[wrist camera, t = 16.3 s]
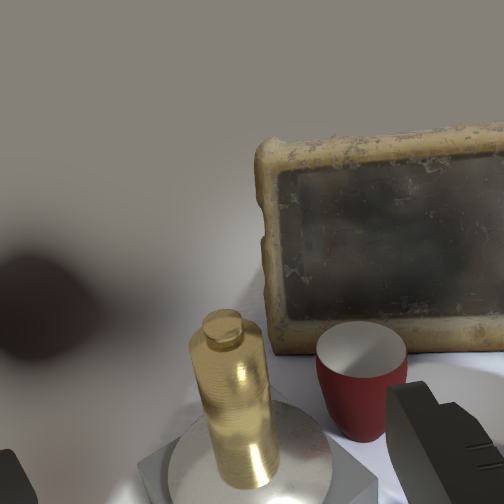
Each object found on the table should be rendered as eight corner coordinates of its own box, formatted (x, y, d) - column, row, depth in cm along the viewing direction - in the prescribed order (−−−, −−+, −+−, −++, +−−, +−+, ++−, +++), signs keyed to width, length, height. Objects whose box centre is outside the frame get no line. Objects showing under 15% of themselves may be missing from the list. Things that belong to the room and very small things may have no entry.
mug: (329, 377, 53) (325, 303, 48) (404, 384, 50) (406, 308, 46) (315, 454, 44) (308, 374, 39) (405, 468, 42) (408, 383, 37)
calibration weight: (255, 425, 40) (232, 291, 34) (293, 462, 36) (275, 319, 30) (205, 458, 37) (171, 320, 31) (240, 502, 34) (209, 355, 28)
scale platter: (266, 385, 45) (264, 377, 45) (368, 474, 35) (368, 465, 35) (144, 461, 39) (141, 453, 39) (226, 594, 29) (224, 585, 29)
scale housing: (268, 415, 49) (263, 379, 47) (378, 518, 38) (378, 478, 35) (147, 495, 42) (133, 458, 40) (236, 649, 31) (225, 610, 29)
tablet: (269, 374, 55) (240, 169, 43) (270, 307, 67) (248, 134, 56) (562, 355, 51) (614, 128, 40) (506, 288, 64) (534, 101, 52)
